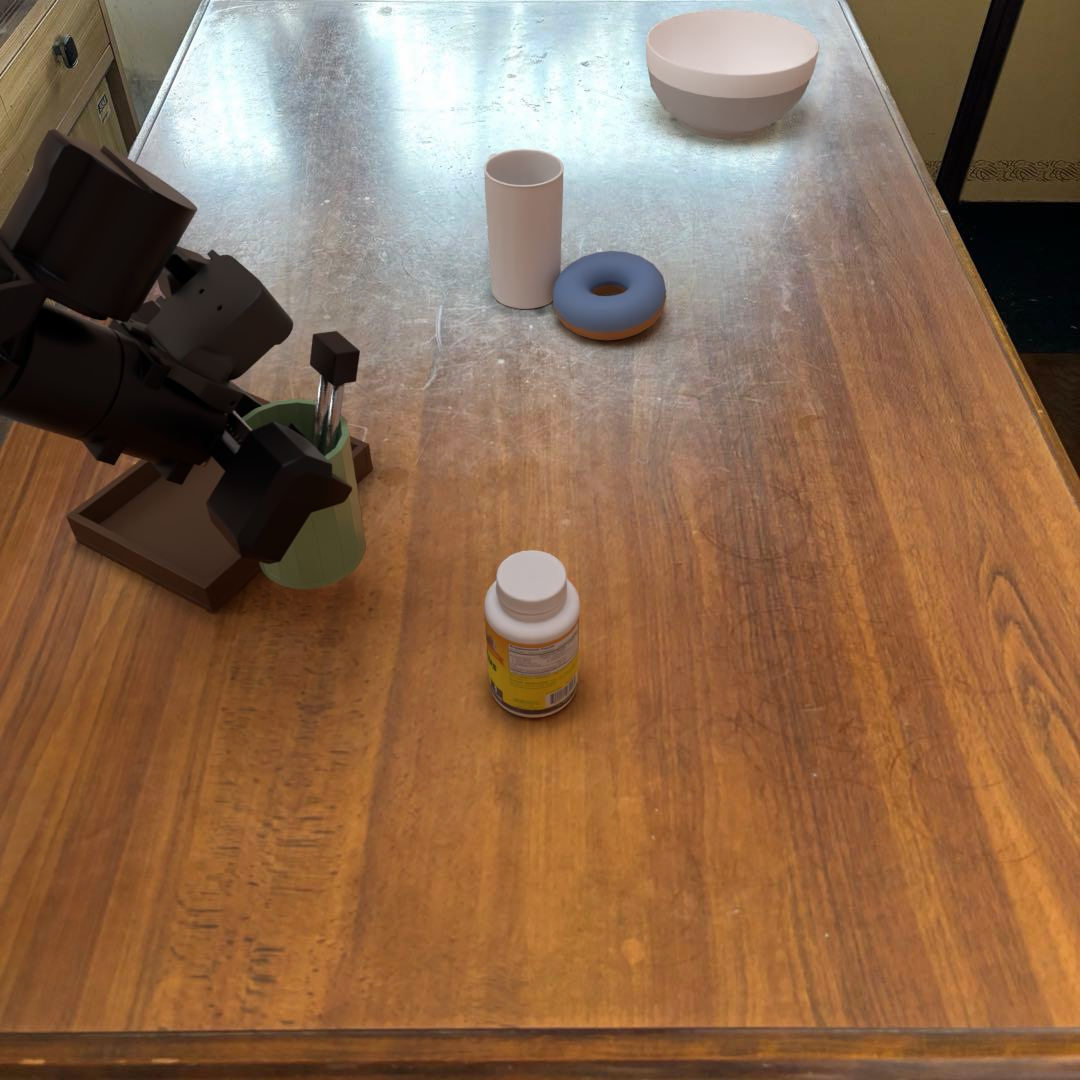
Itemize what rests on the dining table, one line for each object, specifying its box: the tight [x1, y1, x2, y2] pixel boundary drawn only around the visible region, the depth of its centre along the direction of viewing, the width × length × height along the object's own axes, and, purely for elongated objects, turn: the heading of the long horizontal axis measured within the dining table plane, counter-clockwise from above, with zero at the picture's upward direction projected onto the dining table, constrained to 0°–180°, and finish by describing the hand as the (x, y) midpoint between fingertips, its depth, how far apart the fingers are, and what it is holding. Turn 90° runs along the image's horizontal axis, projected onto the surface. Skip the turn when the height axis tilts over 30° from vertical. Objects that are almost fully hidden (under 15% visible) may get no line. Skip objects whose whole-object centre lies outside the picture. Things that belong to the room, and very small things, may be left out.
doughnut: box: [552, 250, 667, 341], centre depth 96 cm, size 10×10×5 cm
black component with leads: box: [309, 330, 361, 456], centre depth 66 cm, size 4×3×14 cm, turn 128°
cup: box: [242, 398, 367, 590], centre depth 67 cm, size 7×7×10 cm
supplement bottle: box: [483, 549, 581, 719], centre depth 65 cm, size 6×6×10 cm
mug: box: [483, 148, 565, 310], centre depth 98 cm, size 10×7×12 cm, turn 30°
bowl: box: [645, 9, 820, 140], centre depth 124 cm, size 19×19×9 cm
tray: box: [65, 390, 374, 615], centre depth 80 cm, size 17×13×2 cm
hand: (316, 462), depth 66 cm, fingers closed on cup, 7 cm apart
